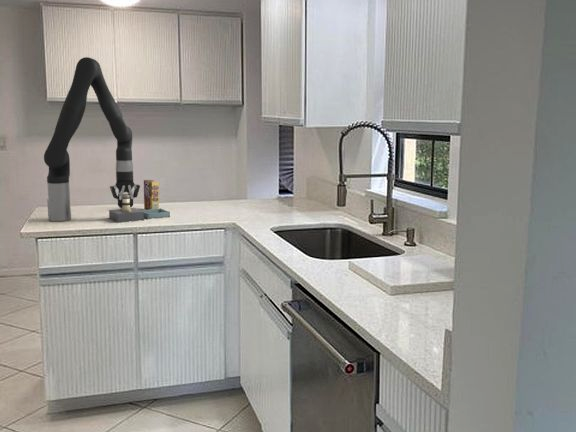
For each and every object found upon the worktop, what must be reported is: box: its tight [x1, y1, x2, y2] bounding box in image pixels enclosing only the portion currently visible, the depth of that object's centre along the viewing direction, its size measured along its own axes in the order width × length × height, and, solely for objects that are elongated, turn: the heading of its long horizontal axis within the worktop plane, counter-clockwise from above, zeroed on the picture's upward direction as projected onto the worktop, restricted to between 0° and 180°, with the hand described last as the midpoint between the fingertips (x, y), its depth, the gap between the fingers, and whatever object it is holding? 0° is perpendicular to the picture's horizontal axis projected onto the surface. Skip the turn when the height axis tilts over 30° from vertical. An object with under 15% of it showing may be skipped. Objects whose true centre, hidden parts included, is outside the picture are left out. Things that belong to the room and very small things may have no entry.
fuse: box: [120, 193, 131, 212], centre depth 272 cm, size 4×4×11 cm
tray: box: [140, 207, 171, 220], centre depth 282 cm, size 11×11×2 cm
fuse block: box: [108, 207, 145, 224], centre depth 273 cm, size 12×12×5 cm
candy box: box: [143, 179, 160, 210], centre depth 296 cm, size 9×4×15 cm, turn 39°
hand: (125, 207), depth 272 cm, fingers closed on fuse, 4 cm apart
